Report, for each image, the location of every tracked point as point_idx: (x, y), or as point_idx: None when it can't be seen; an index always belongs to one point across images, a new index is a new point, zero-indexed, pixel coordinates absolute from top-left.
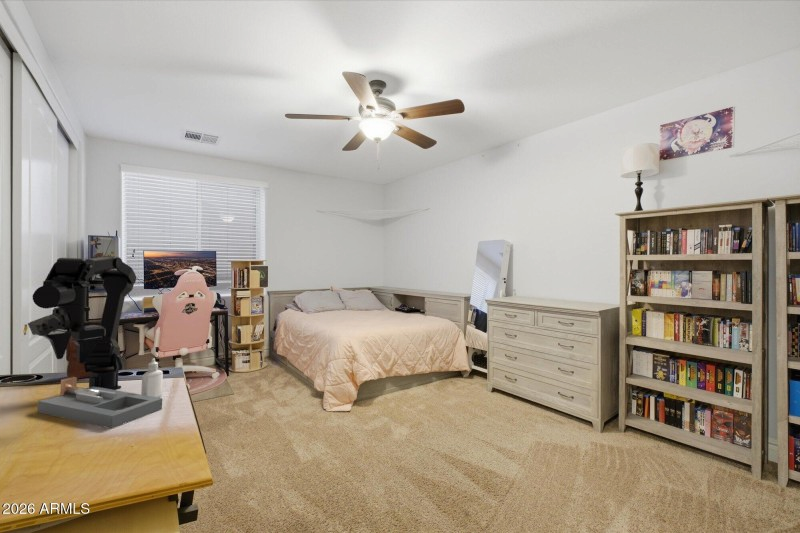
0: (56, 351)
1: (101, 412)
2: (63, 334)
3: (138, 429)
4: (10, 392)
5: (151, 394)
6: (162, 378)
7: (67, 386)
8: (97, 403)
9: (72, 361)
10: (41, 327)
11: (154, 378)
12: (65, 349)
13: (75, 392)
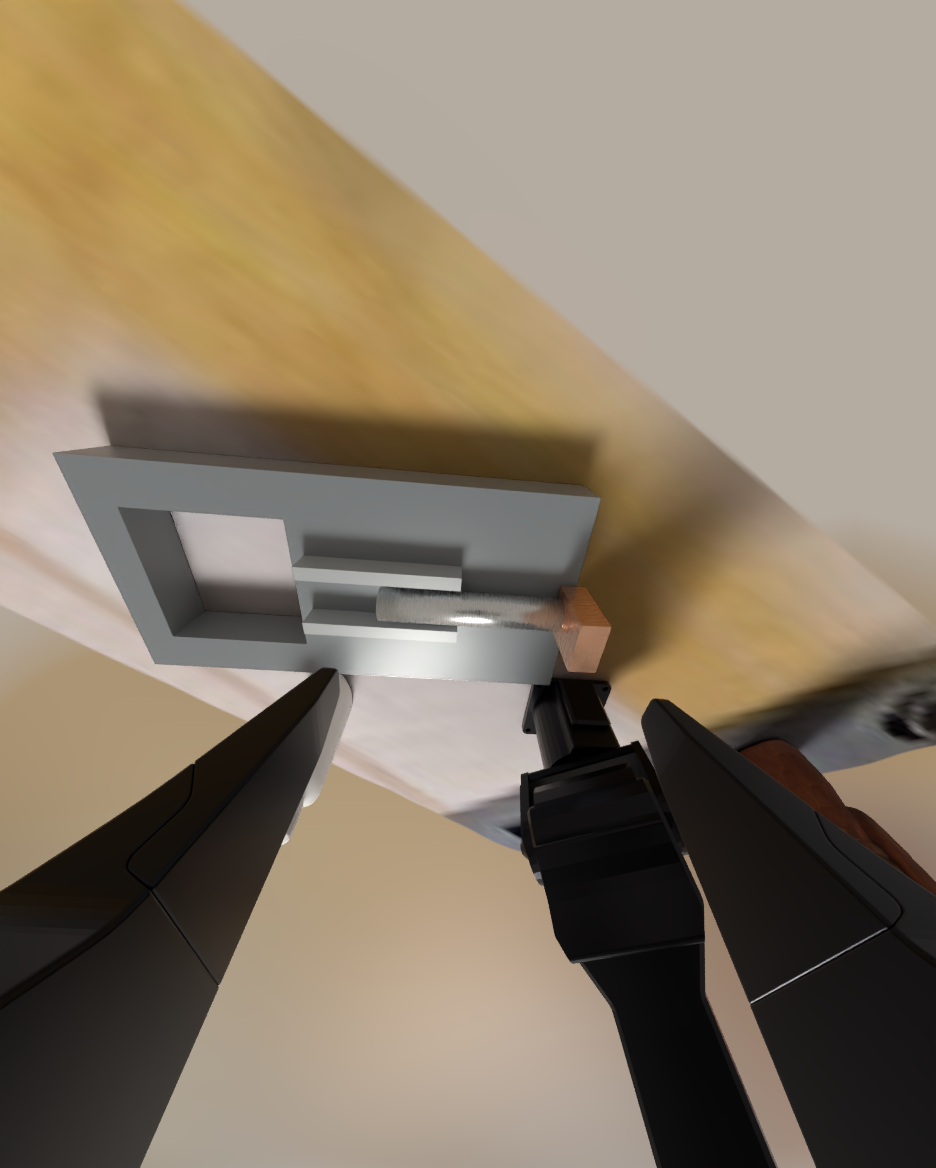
0: (714, 763)
1: (158, 474)
2: (907, 1165)
3: (12, 470)
4: (891, 606)
5: None
6: None
7: (567, 615)
8: (312, 553)
9: (823, 807)
10: None
11: None
12: (676, 820)
13: (499, 596)
